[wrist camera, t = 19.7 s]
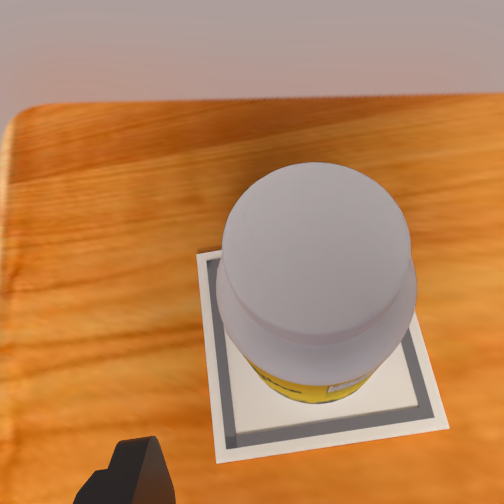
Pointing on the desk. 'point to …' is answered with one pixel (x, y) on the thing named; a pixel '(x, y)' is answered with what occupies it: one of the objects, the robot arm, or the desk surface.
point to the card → (310, 415)
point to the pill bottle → (316, 280)
